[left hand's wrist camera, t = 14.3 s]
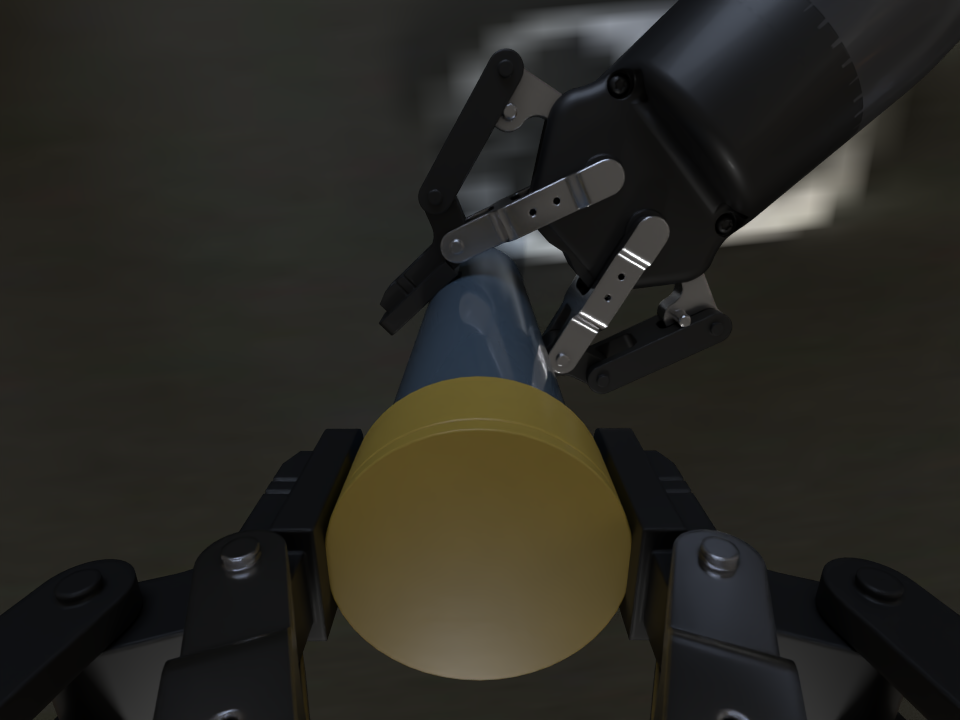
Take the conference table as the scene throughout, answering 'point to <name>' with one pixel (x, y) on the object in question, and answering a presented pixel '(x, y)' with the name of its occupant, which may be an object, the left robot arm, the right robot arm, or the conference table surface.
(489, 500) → the lid
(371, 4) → the conference table surface
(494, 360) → the dark blue cylinder
